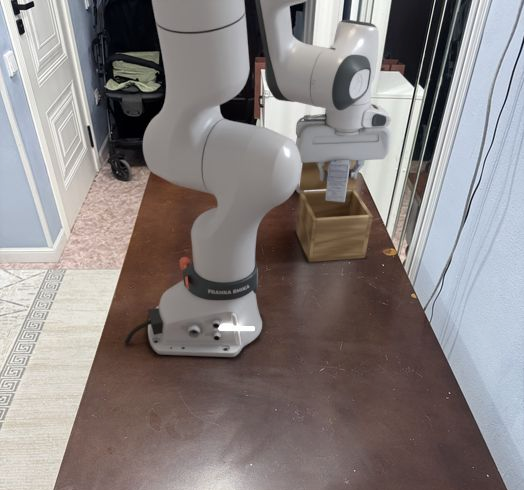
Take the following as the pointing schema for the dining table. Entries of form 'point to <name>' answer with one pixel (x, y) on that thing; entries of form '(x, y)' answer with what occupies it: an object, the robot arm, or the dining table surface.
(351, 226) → the chest
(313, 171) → the chest lid
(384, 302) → the dining table surface
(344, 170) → the medicine box
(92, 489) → the dining table surface
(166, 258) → the dining table surface
